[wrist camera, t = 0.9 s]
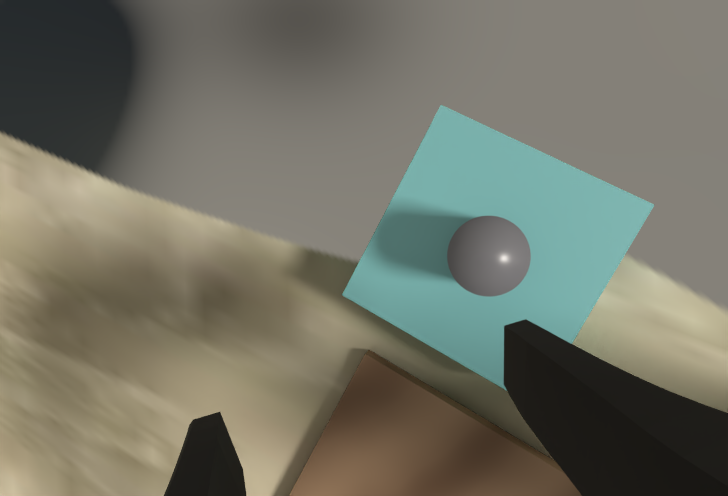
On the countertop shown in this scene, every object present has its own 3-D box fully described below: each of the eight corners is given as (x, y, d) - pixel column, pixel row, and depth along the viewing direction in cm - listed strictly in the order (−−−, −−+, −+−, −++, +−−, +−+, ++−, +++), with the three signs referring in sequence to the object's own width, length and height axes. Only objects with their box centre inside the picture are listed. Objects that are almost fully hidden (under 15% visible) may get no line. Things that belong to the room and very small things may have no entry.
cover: (624, 211, 25) (695, 196, 17) (525, 379, 26) (545, 442, 18) (447, 126, 27) (432, 76, 18) (363, 286, 28) (314, 305, 20)
